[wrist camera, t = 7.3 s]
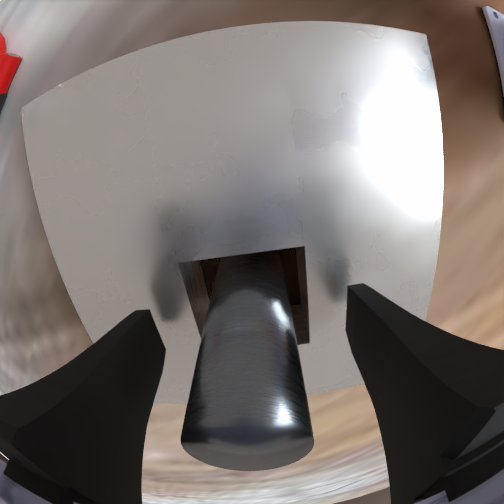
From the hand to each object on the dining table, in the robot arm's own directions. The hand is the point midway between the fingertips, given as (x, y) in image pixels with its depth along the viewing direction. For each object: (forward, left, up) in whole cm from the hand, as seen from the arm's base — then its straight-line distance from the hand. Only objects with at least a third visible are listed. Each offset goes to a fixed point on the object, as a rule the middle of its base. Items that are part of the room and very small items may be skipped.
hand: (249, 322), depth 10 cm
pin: (0, 0, -4) cm, 4 cm away
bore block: (0, -2, -4) cm, 4 cm away
